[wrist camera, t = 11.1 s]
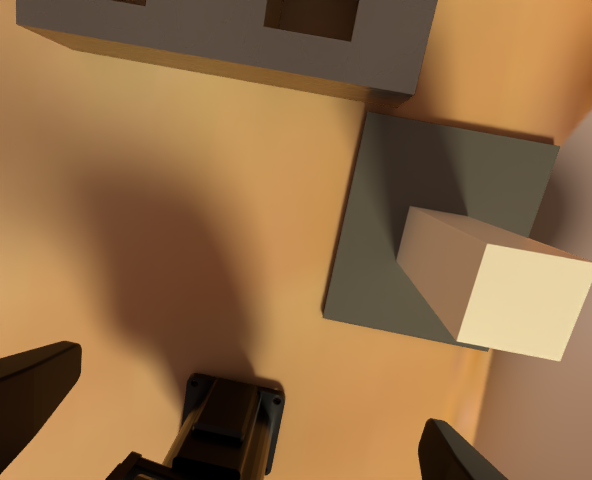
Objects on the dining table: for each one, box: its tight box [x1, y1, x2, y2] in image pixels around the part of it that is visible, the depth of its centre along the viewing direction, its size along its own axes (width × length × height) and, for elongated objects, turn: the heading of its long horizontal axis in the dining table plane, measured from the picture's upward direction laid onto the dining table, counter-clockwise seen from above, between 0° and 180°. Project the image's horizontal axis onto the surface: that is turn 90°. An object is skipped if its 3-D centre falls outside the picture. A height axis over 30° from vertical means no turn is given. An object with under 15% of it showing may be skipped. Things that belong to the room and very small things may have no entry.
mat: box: [323, 112, 560, 352], centre depth 19 cm, size 12×10×1 cm
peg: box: [396, 206, 592, 361], centre depth 14 cm, size 3×3×9 cm
